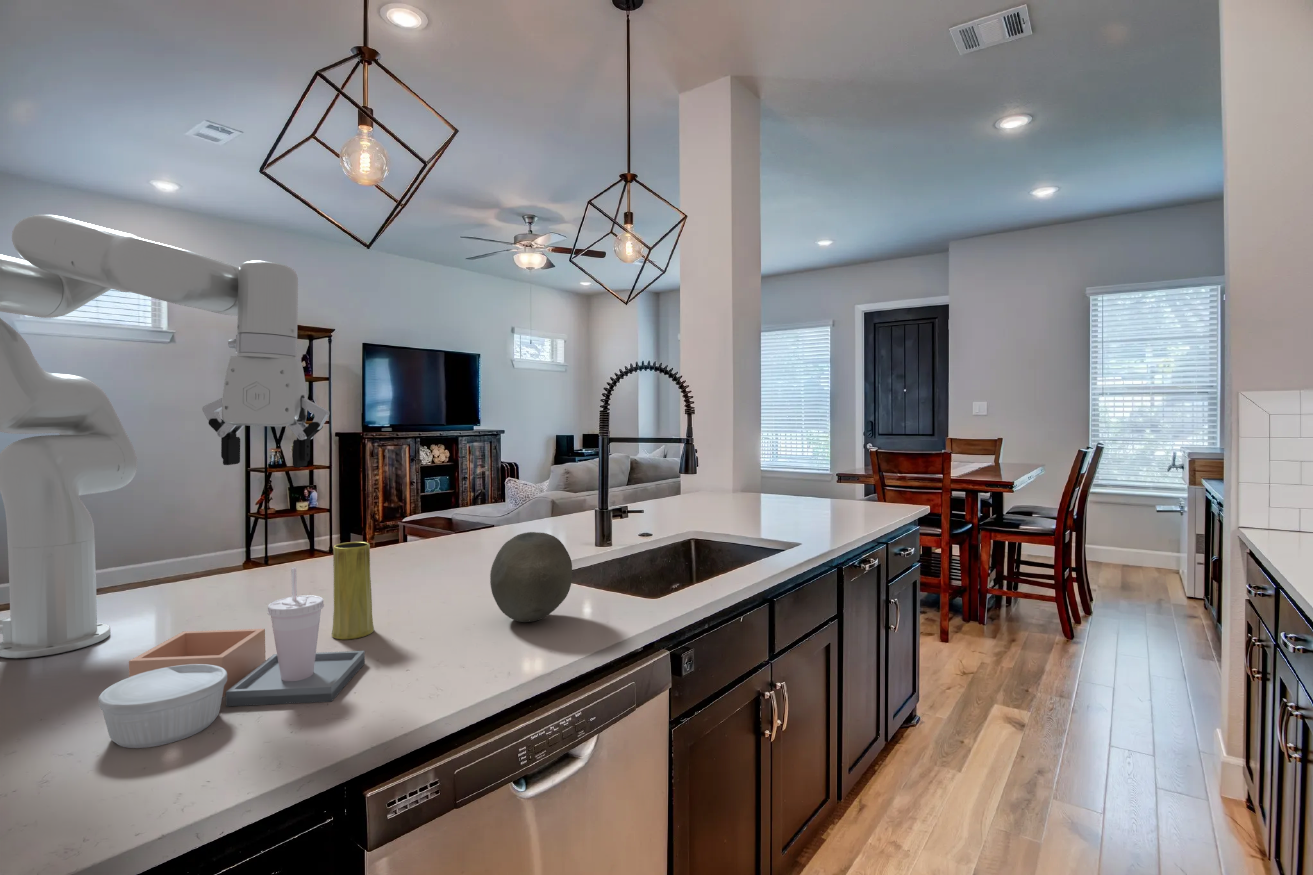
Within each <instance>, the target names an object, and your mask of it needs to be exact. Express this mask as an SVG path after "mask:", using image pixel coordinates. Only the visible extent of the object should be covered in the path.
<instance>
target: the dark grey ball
mask: <svg viewBox="0 0 1313 875" xmlns="http://www.w3.org/2000/svg"><path fill="white" fill-rule="evenodd" d="M489 576H490V577H489V578H490V580H489V581H490V583H489V584H490V590H491V594H492V597H493V599H494V601H495V603H496V605H497V607H498V608H499V610H500V611H501V612H502V613H503V614H504V615H505V616H506V617H507V618H509V619H511V620H514V621H517V622H519V623H531V622H536V621H539V620H542V619H544V618H545V617H548V616H549V615H550V614H552V613H553V612H554V611H555V610H556V609H557V608H558V607H559V606H560V605H561V604H562V603H563V602H564V601H565V599H566V598H567V596H568V594H569V593H570V592H569V591H570V589H571V587H572V580H573V563H572V559H571V556H570V554H569V552H568V550H567V549H566V546H565V545H564V543H562V541H561V540H560V539H559V538H557V537H556V536H554V535H552V534H550V533H545V532H536V531H528V532H523V533H519V534H517V535H515V536H513V537H512V538H510V539H508V540H507V541H506V542H505V543H504V544H502V546H501V547H500V549H499V550H498V552H497V554H496V556H495V557H494V560H493V562H492V565H491V569H490V575H489Z"/></svg>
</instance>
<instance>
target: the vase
mask: <svg viewBox="0 0 1313 875" xmlns="http://www.w3.org/2000/svg"><path fill="white" fill-rule="evenodd" d="M370 546H371V544H370V543H369V542H367V541H350V542H341V543H337V544H334V546H333V548H332V550H333V551H332V552H333V558H332V559H333V560H332V561H333V563H332V565H333V613H332V614H333V616H332V617H333V618H332V631H331V638H334V639H337V640H343V641H344V640H357V639H361V638H365V637H367V636H369V635H370V634H372V633H373V632H374V631H375V630H374V629H375V628H374V620H373V618H374V617H373V599H372V598H373V597H372V596H373V595H372V579H371V547H370Z"/></svg>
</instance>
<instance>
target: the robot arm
mask: <svg viewBox="0 0 1313 875" xmlns="http://www.w3.org/2000/svg"><path fill="white" fill-rule="evenodd" d="M11 241H12V245H13V247H14V249H15V250H16V252H17V253H18V254H19V256H20V257H21V258H23V259H21V258H16V257H13V256H8V255H4V254H0V312H1V313H9V314H15V315H21V316H22V315H23V316H28V317H35V318H41V319H42V318H43V319H48V318H49V319H51V318H58V317H62V316H65V315H68V314H70V313H72V312H74V311H75V310H78V309H80V308H82V307H83V306H84V305H86V304H88V303H90V302H92V301H93V300H95V299H96V298H99V297H101V296H102V295H104V294H106V293H107V292H109V291H111V290H115V291H118V292H122V293H134V294H137V295H141V296H144V297H148V298H152V299H155V300H159V301H163V302H167V303H171V304H175V305H178V306H184V307H188V308H193V309H198V310H202V311H206V312H211V313H216V314H220V315H224V316H230V317H232V316H234V317H236V316H237V323H236V324H237V330H236V331H237V333H236V334H235V338H234V339H229V340H228V341H227V346H228V348H229V349H230V350H231V349H234V350H235V353H236V355H230V358H229V361H228V363H227V368H226V372H225V377H224V383H223V390H222V391H223V392H222V397H221V398H219V399H217V400H214V401H211V402H210V403H208V404H206V405H204V406H202V407H201V409H202V412H203V414H204V416H205V419H206V420H208V425H209V427H210V428H212V429H213V430H214V432H216V435H217V437H219V438H221V439H220V442H221V443H220V444H221V446H220V450H221V451H220V456H221V459H222V464H223V465H224V466H231V465H238V464H240V463H241V438H240V436H237V434H238V433H239V432H240V431H241V430H242V429H243V428H244V427H245V426H248V427H249V426H251V427H254V426H255V427H288V428H289V430H290V431H291V432H292V433H293V434H294V435H295V436H296V439H294V440H293V441H292V467H294V468H300V467H307V465H308V462H309V461H310V459H311V440H312V439H314V437H315V435H317V434H318V433H319V431H321V430H322V429H323V428H324V424H325V423H326V421H327V420H328V418H329V416H330V413H331V412H330V410H328V409H326V408H324V407H322V406H321V405H318V404H317V403H316V402H313V401H311V400H309V398H308V395H307V385H306V377H305V372H304V368H303V363H302V360H300V359H298V313H299V312H298V310H299V304H298V302H299V300H298V299H299V278H298V274H297V272H296V271H295V270H294V269H293V268H292V267H291V266H288V265H285V264H282V263H277V262H273V261H272V262H271V261H266V260H265V261H264V260H250V261H249V260H248V261H245V262H242V264H240V266H238V265H234V264H232V263H229V262H224V261H222V260H219V259H216V258H213V257H210V256H207V255H203V254H200V253H197V252H193V251H192V250H191V251H190V250H187V249H184V248H183V249H182V248H179V247H177V246H176V247H175V246H173V245H168V244H164V243H160V242H155V241H153V240H148V239H146V238H145V239H144V238H141V237H140V236H138V235H135V234H132V233H127V232H123V231H119V230H114V229H111V228H106V227H103V226H99V225H95V224H92V223H87V222H84V221H80V220H76V219H72V218H68V217H66V216H60V215H54V214H35V215H31V216H27V217H25V218H23V219H22V220H20V221H18V222H17V223H16V224H15V226H14V227H13V229H12V233H11ZM220 411H221V416H220ZM308 412H310V413H311V414H313V415H314V418H313V420H312V422H311V423H309V424H308V425H307V423H306V422H307V417H308ZM0 433H4V434H13V435H14V434H15V435H33V436H30V437H24V438H21V439H19V440H16V441H13V442H12V443H9V444H8V445H7V446H5V447H4V448H3V449H2V450H1V451H0V496H1V499H2V502H3V507H4V511H5V519H6V530H7V533H6V534H7V537H6V538H7V553H8V554H7V556H8V557H7V558H8V580H9V581H8V584H9V613H10V614H9V615H10V617H0V634H1V635H2V641H0V658H7V659H26V658H27V659H28V658H38V657H44V656H51V655H57V654H62V653H67V652H70V651H75V650H79V649H83V648H85V647H89V646H91V645H95V644H97V643H100V642H101V641H104V640H105V639H107V638H108V637H109V636H110V635H111V632H112V631H111V626H110V625H108V624H106V623H102V622H101V623H100V622H98V610H97V609H98V607H97V606H98V605H97V575H96V574H97V572H96V571H97V570H96V565H97V564H96V538H95V537H96V536H95V524H94V520H93V518H92V515H91V513H90V511H89V510H88V509H87V507H86V506H85V504H84V502H83V501H82V499H81V498H80V496H83V495H84V496H85V495H91V494H98V493H106V492H107V493H108V492H111V491H116V490H119V489H121V488H124V487H126V486H127V485H128V484H129V483H131V481H132V480H133V479H134V477H135V476H136V474H137V470H138V458H137V453H136V450H135V448H134V446H133V443H132V442H131V439H130V437H129V435H128V433H127V431H126V429H125V427H124V425H123V424H122V422H121V419H120V417H119V416H118V413H117V411H116V410H115V407H114V406H113V404H112V401H111V400H110V399H109V397H108V395H107V394H106V392H105V391H104V390H103V389H102V388H101V387H100V386H99V385H98V384H96V383H95V382H94V381H91V380H90V379H88V378H85V377H83V376H80V375H79V376H78V375H74V374H66V373H52V372H48V371H46V370H44V368H42V367H41V365H40V364H39V363H38V361H37V359H36V357H35V356H34V354H33V351H32V350H31V348H30V346H29V344H28V343H27V341H26V340H25V338H24V337H23V336H22V335H21V334H20V333H19V332H18V331H17V330H15V329H14V328H13V327H12V326H11V325H10V324H8V323H7V322H6V321H5V320H4V319H3V318H1V317H0ZM36 434H38V435H36ZM39 434H51V435H39ZM34 435H36V436H34ZM223 465H222V466H223Z"/></svg>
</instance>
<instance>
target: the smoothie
mask: <svg viewBox="0 0 1313 875" xmlns="http://www.w3.org/2000/svg"><path fill="white" fill-rule="evenodd" d="M290 573H291V574H290V575H291V596H287V597H283V598H280V599H276V600H274V601H272V602H270V603H269V604H268V605H267V615H268V616H270V619H271V626H272V632H273V637H274V643H275V650H276V654H277V657H278V663H279V669H280V675H281V680H283V681H298V680H302V679H306V678H308V677H310V676H312V675H313V673H314V664H315V656H316V653H317V646H318V638H319V629H320V622H321V613H322V612H321V611H322V609H323V608H324V607H325V604H324V598H323V597H322V596H319V595H313V594H311V595H310V594H309V595H307V594H306V595H297V594H298V591H297V590H298V589H297V567H291V572H290Z"/></svg>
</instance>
